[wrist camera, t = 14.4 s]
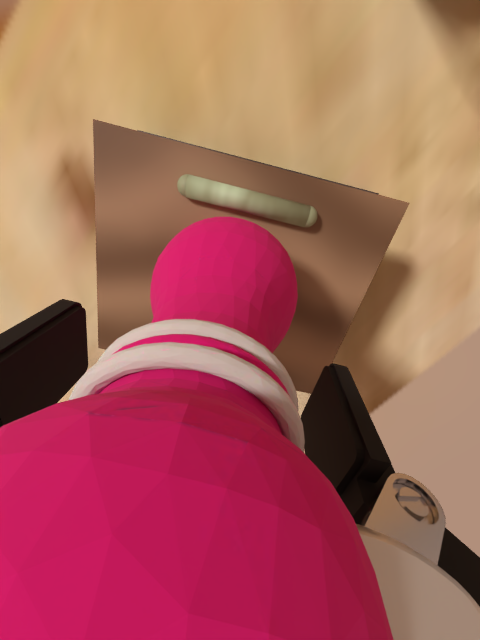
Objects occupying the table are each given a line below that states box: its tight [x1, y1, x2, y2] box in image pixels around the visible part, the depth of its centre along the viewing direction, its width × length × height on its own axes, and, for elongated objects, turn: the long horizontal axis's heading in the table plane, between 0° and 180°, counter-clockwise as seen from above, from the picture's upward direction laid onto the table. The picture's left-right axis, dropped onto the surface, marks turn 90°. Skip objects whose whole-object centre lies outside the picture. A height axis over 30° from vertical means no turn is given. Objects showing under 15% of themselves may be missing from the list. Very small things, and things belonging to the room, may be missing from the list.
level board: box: [93, 119, 409, 394], centre depth 18 cm, size 15×18×2 cm
